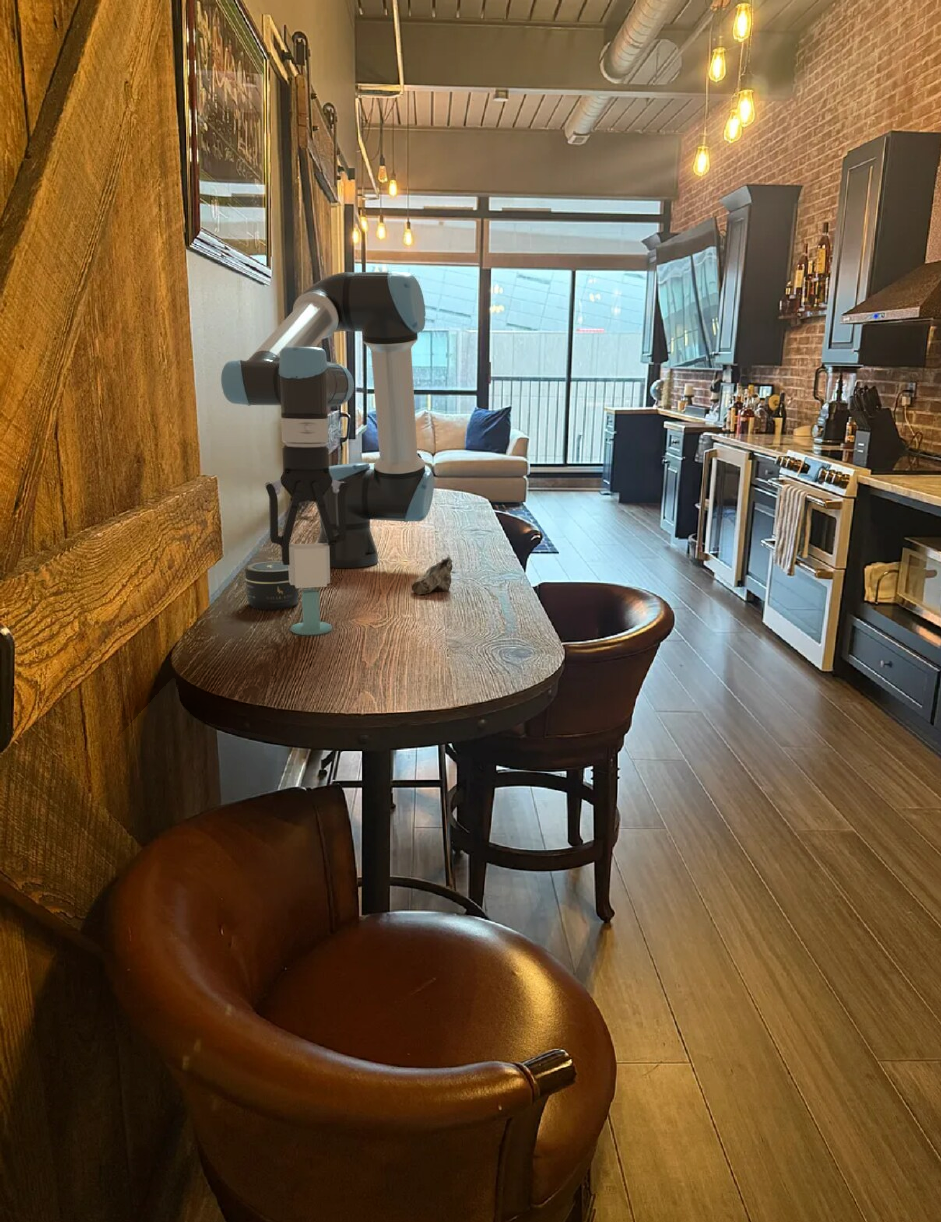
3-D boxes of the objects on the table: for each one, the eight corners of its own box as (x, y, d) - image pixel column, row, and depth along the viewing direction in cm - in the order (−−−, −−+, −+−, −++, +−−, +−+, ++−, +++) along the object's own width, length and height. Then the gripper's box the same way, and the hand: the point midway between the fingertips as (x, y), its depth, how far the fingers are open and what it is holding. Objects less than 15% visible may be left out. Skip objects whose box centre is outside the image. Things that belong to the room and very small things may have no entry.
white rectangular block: (292, 581, 148) (291, 544, 147) (322, 580, 150) (321, 543, 148) (296, 588, 143) (294, 549, 142) (327, 586, 145) (326, 548, 143)
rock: (446, 593, 170) (465, 556, 175) (413, 577, 170) (433, 540, 175) (437, 613, 178) (455, 577, 183) (405, 598, 177) (425, 562, 183)
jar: (256, 614, 158) (254, 573, 156) (239, 602, 167) (237, 563, 165) (307, 607, 164) (306, 568, 162) (288, 596, 172) (287, 558, 170)
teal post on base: (289, 625, 151) (287, 587, 149) (328, 622, 153) (327, 585, 151) (293, 636, 145) (291, 596, 143) (334, 633, 147) (333, 594, 145)
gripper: (249, 446, 135) (256, 590, 141) (364, 446, 140) (366, 584, 146) (247, 443, 142) (253, 580, 147) (356, 443, 147) (358, 575, 153)
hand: (309, 582), depth 147 cm, fingers closed on white rectangular block, 5 cm apart
